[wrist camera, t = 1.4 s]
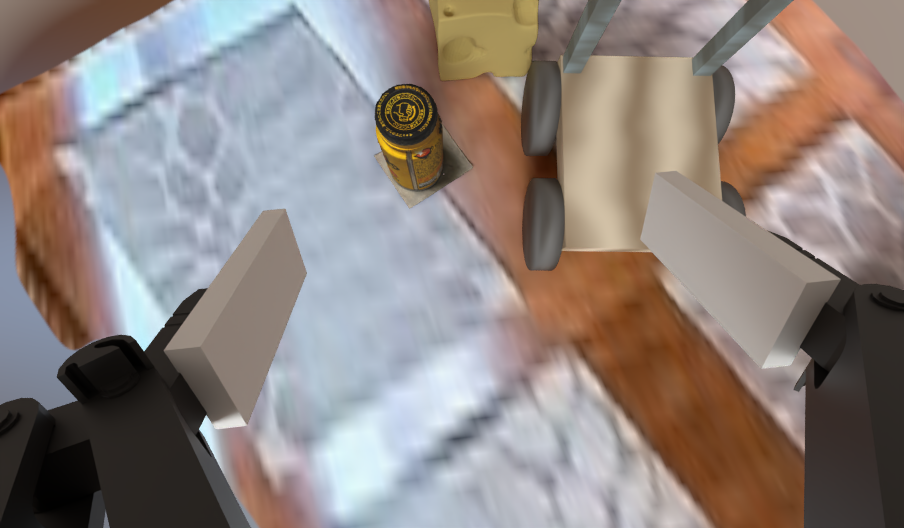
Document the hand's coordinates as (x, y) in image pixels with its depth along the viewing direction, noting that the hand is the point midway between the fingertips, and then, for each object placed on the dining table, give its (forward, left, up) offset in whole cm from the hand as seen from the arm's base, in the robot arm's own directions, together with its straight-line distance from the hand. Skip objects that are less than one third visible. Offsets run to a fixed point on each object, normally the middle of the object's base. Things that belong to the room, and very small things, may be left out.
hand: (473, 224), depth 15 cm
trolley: (-16, -12, -29) cm, 35 cm away
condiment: (+4, -14, -29) cm, 32 cm away
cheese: (-2, -29, -29) cm, 41 cm away
